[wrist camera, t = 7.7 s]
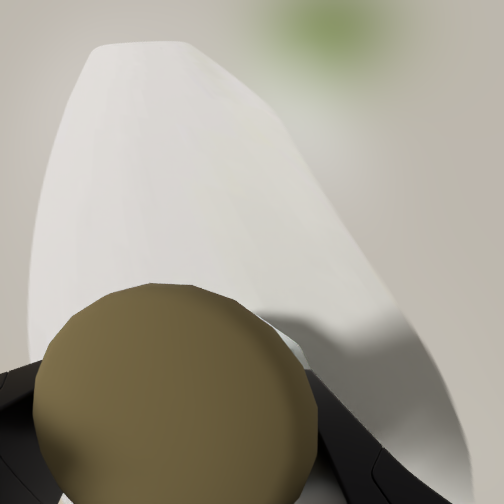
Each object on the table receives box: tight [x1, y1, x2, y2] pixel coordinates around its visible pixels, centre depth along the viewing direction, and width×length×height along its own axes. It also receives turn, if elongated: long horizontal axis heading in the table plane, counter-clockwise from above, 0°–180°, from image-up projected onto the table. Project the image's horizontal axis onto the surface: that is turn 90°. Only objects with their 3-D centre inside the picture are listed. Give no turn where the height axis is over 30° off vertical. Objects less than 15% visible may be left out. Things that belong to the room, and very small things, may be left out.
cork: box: [33, 283, 318, 504], centre depth 8 cm, size 6×6×11 cm
